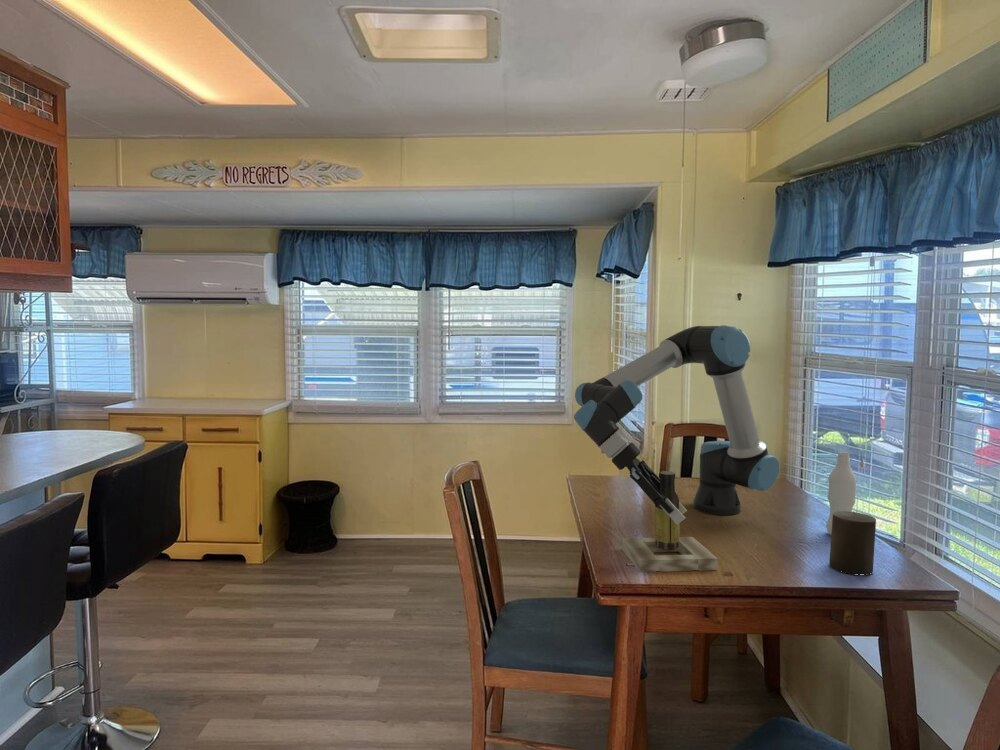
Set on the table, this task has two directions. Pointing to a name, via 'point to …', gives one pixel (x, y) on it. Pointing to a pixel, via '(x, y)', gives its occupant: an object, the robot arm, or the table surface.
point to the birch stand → (689, 559)
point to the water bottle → (841, 487)
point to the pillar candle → (852, 542)
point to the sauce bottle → (663, 523)
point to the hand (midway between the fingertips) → (681, 517)
